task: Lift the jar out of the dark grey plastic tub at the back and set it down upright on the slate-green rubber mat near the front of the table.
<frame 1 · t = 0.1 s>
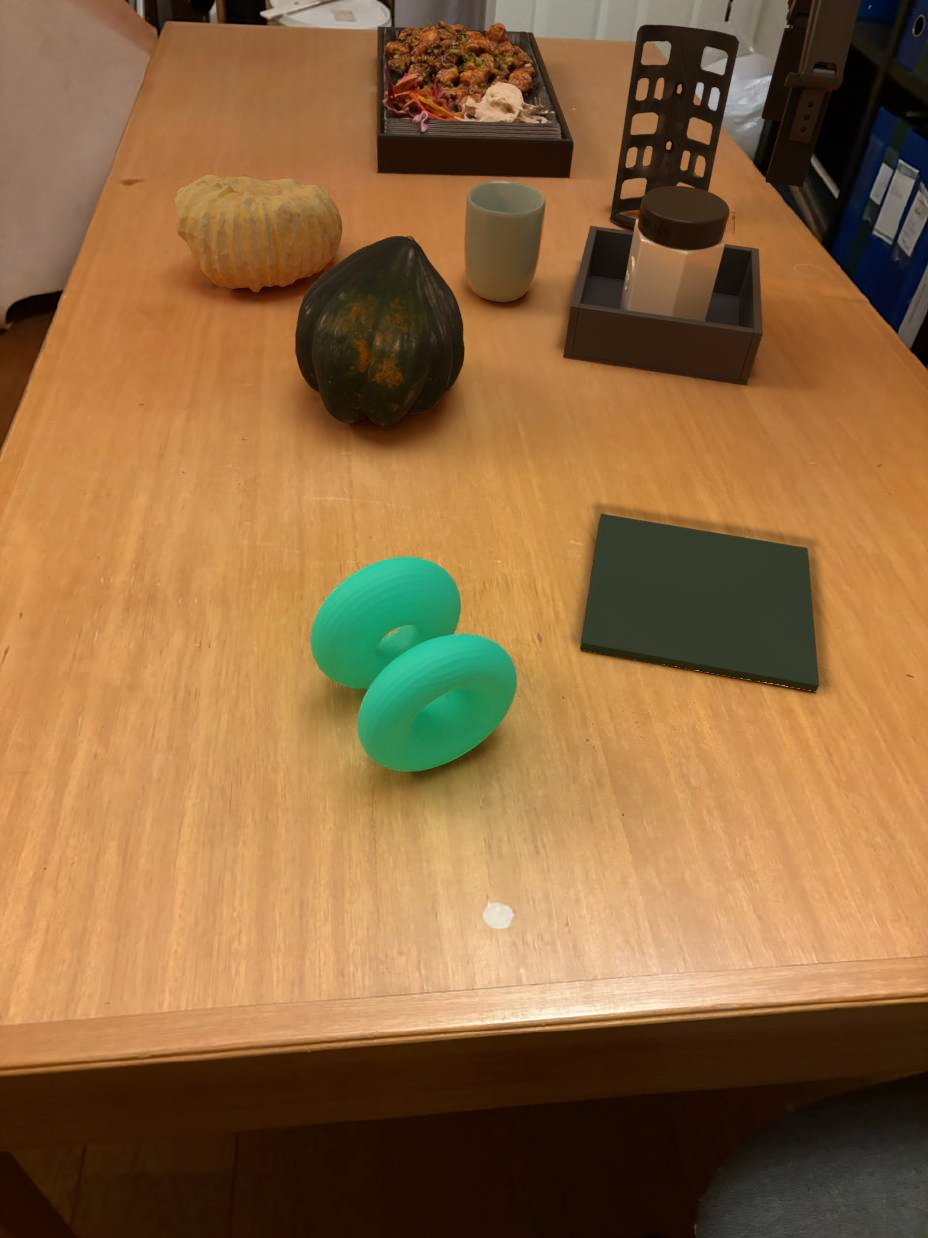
hand: (780, 149, 74), 21 cm above the table, tool pointing down, fingers open, 13 cm apart
food platter: (463, 112, 134), on the table
squash: (380, 398, 84), on the table
seashell: (265, 269, 99), on the table
jar: (659, 323, 95), resting on tub
donuts: (411, 715, 60), on the table
cup: (498, 294, 98), on the table
mat: (698, 600, 68), on the table
holder: (653, 221, 112), on the table
tub: (658, 325, 95), on the table
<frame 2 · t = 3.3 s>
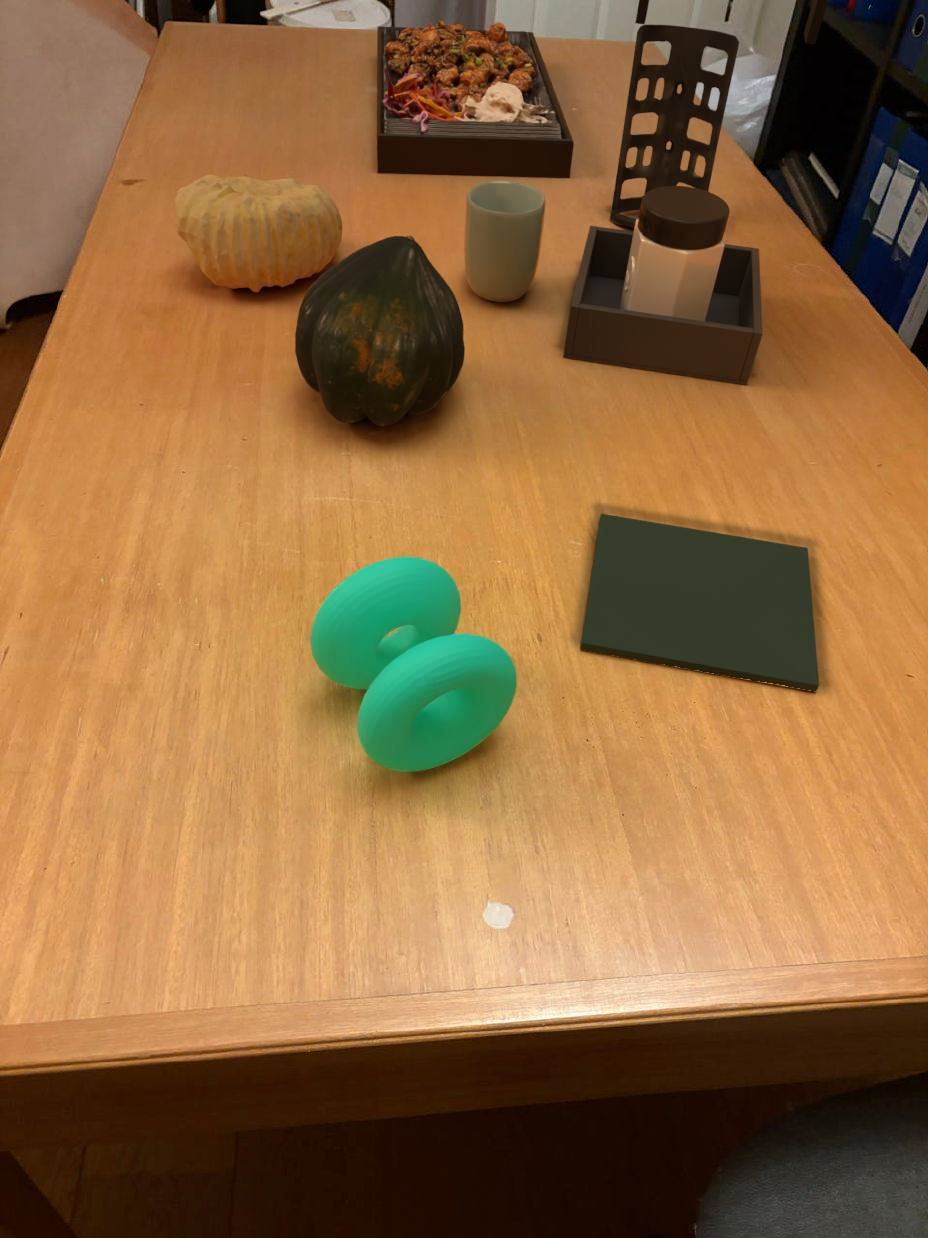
hand: (724, 29, 76), 26 cm above the table, tool pointing down, fingers open, 13 cm apart
nothing on the table moved.
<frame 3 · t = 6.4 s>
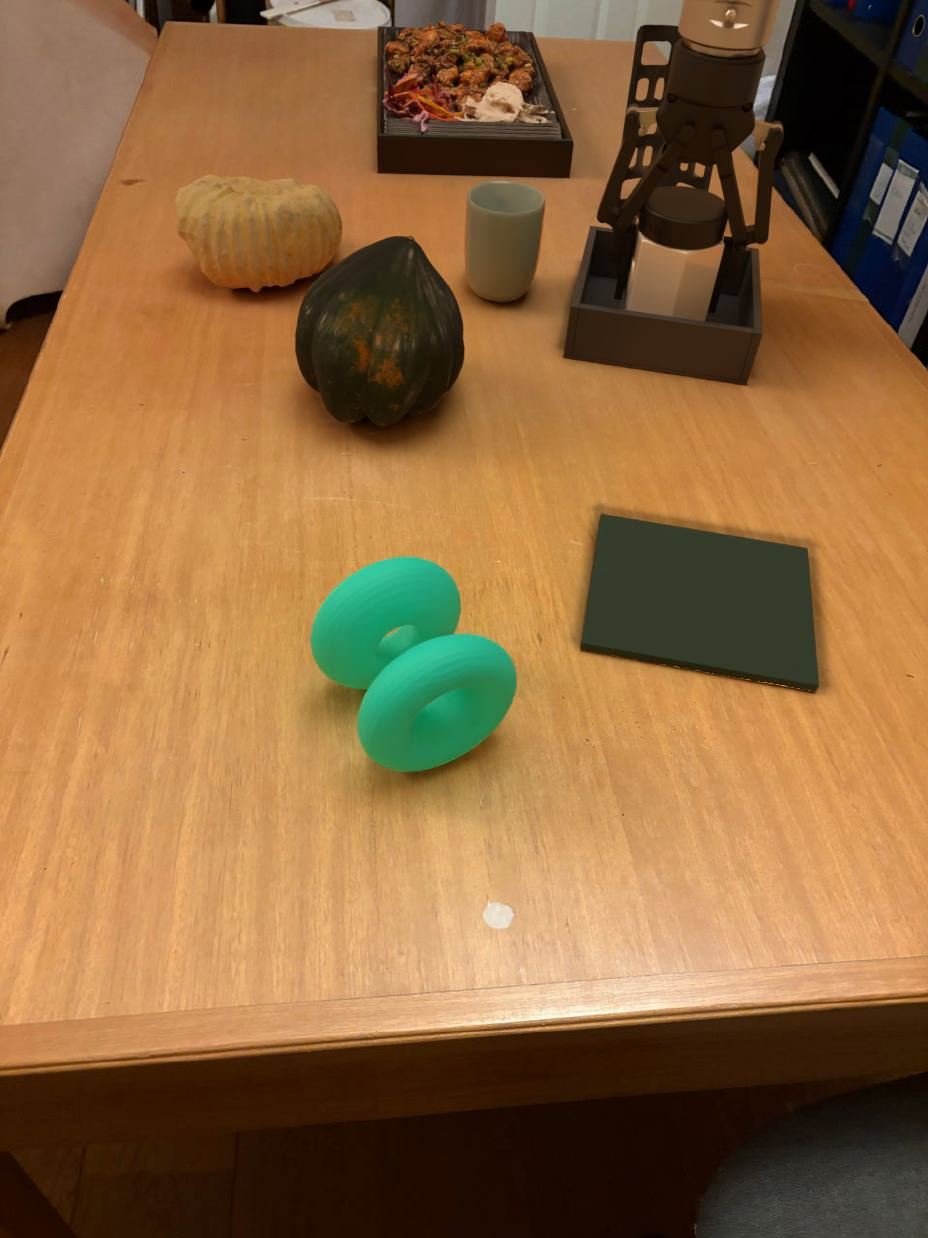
hand: (664, 299, 93), 3 cm above the table, tool pointing down, fingers closed on jar, 8 cm apart
jar: (659, 323, 95), resting on tub, touching gripper
everything else where it was.
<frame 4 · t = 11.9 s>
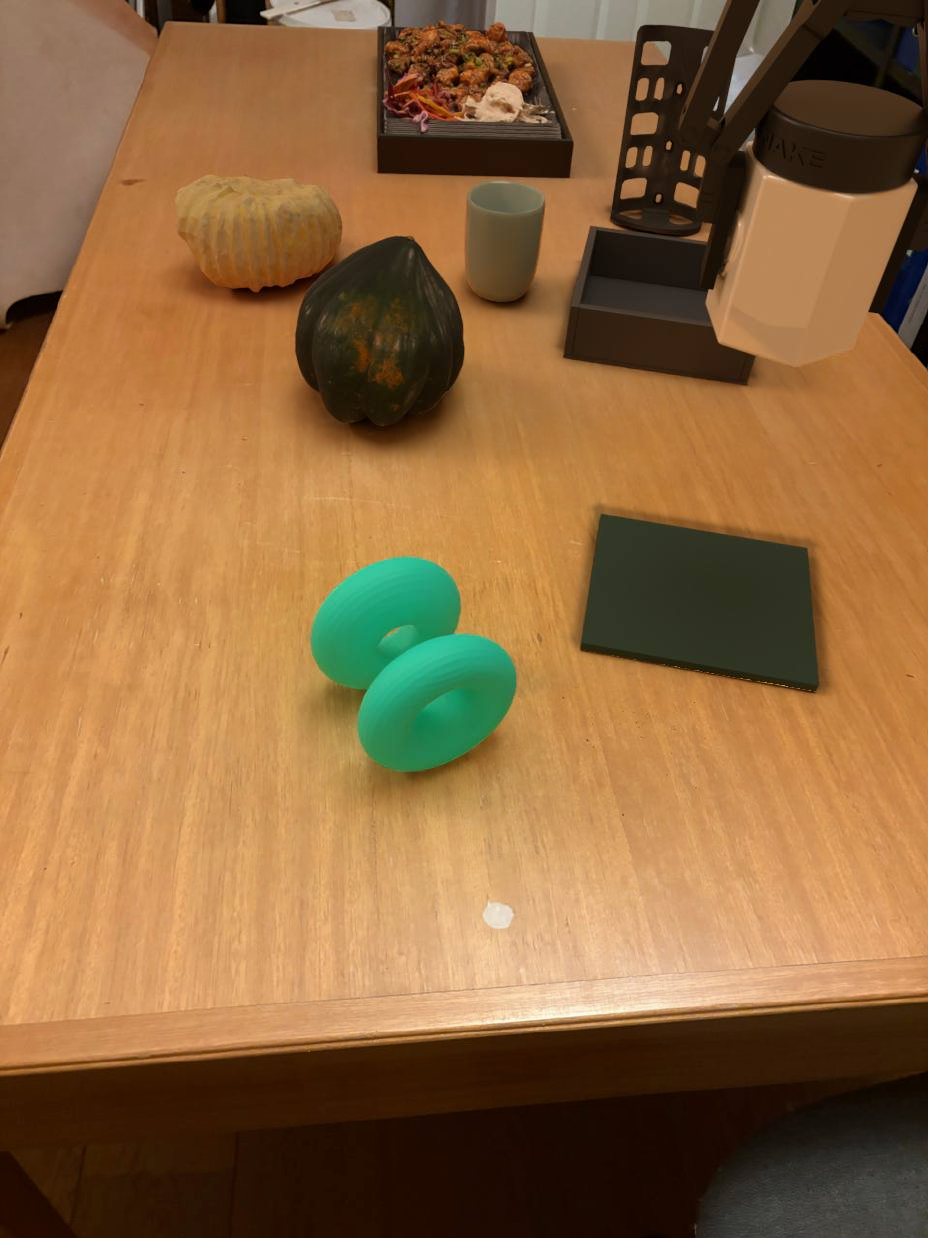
hand: (789, 289, 53), 23 cm above the table, tool pointing down, fingers closed on jar, 8 cm apart
jar: (775, 331, 55), point 20 cm above the table, touching gripper
everything else where it was.
when the fingers open (3 cm above the table, at t = 17.7 s): jar stays where it is, resting on mat.
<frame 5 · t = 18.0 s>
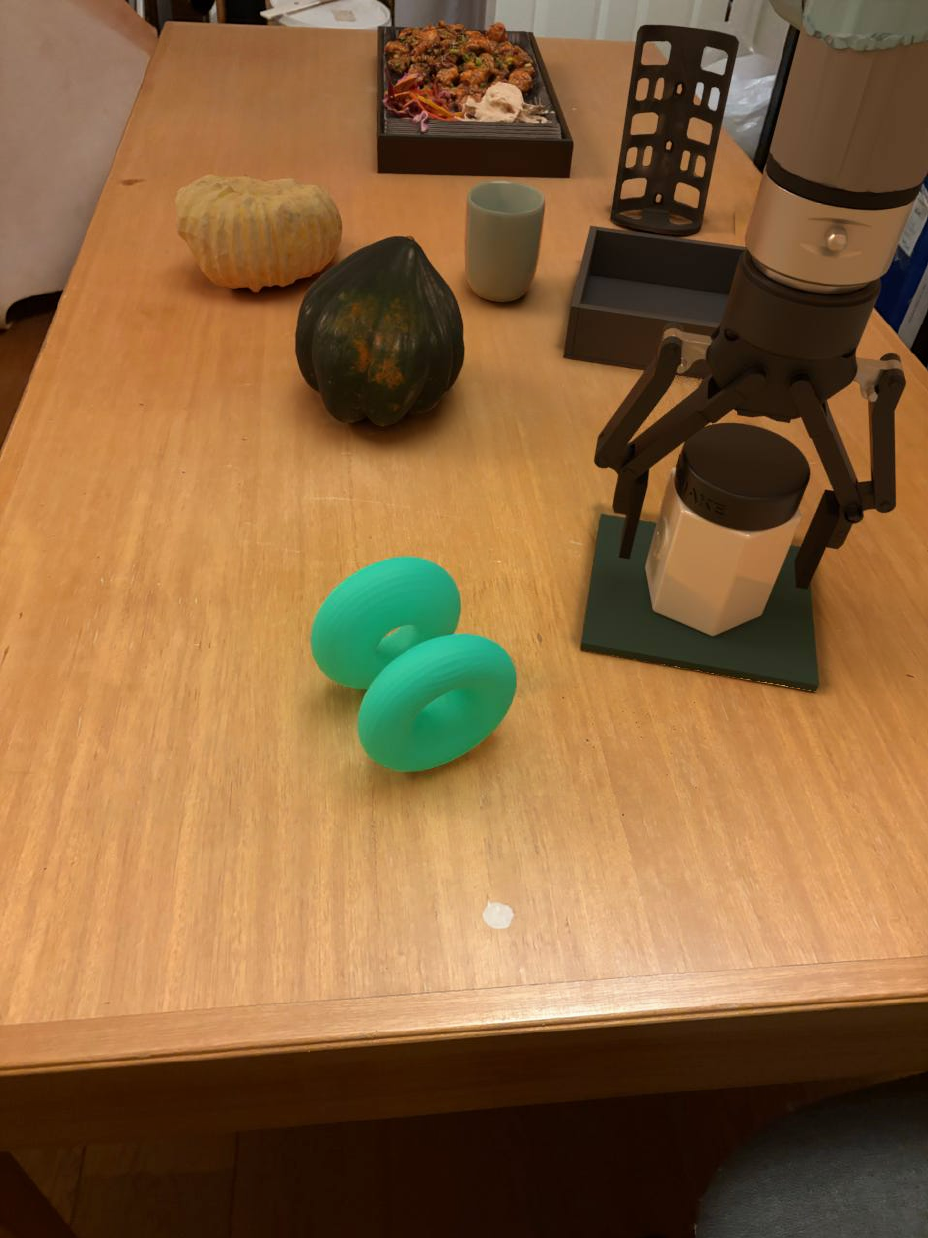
hand: (712, 560, 65), 4 cm above the table, tool pointing down, fingers open, 11 cm apart
jar: (700, 594, 68), point 1 cm above the table, touching mat
everything else where it was.
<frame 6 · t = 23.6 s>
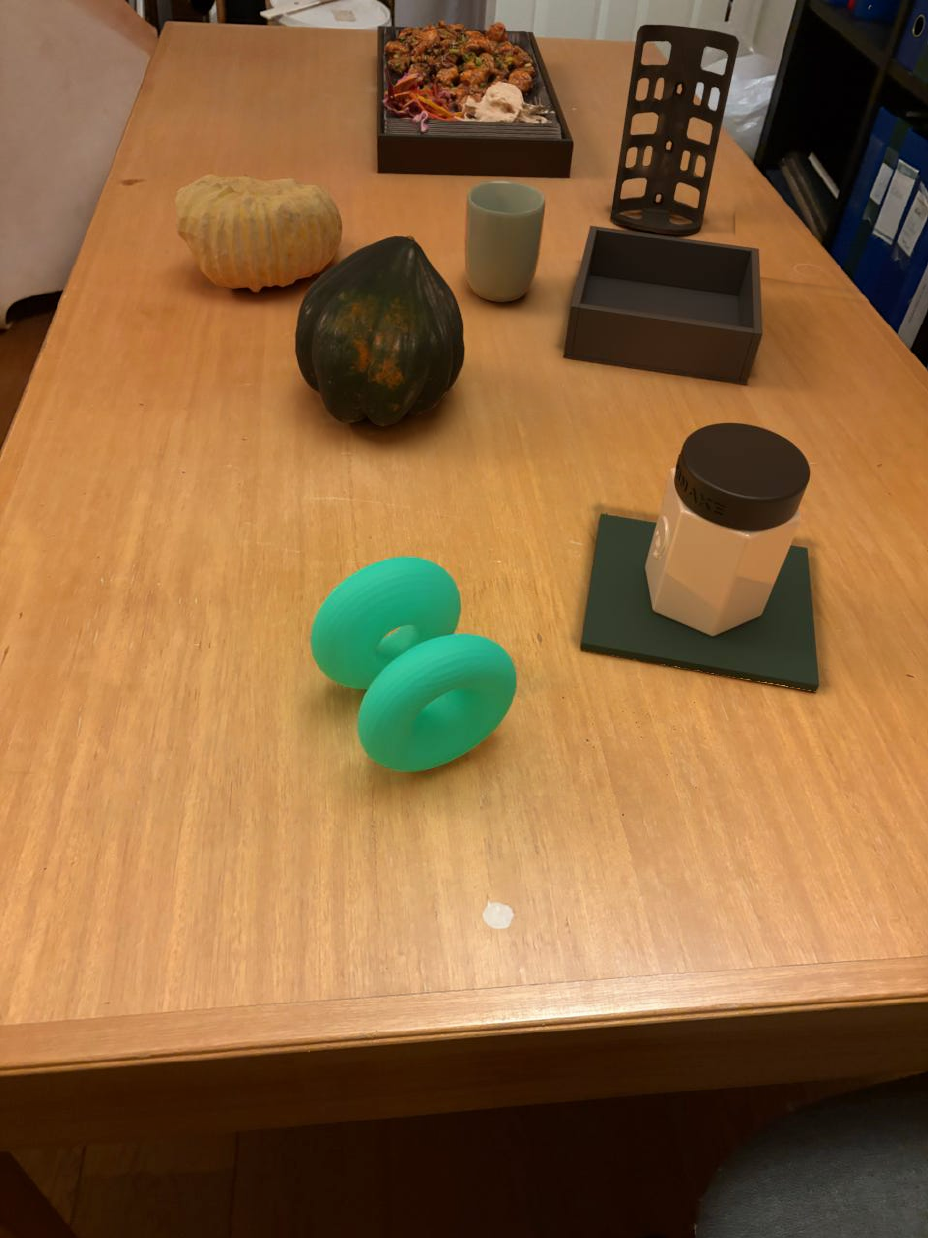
nothing on the table moved.
at the end: jar inside the target area on the mat (0.0 cm from its centre), point 0.6 cm above the mat's base; jar tilted 0°; the gripper is holding nothing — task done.
